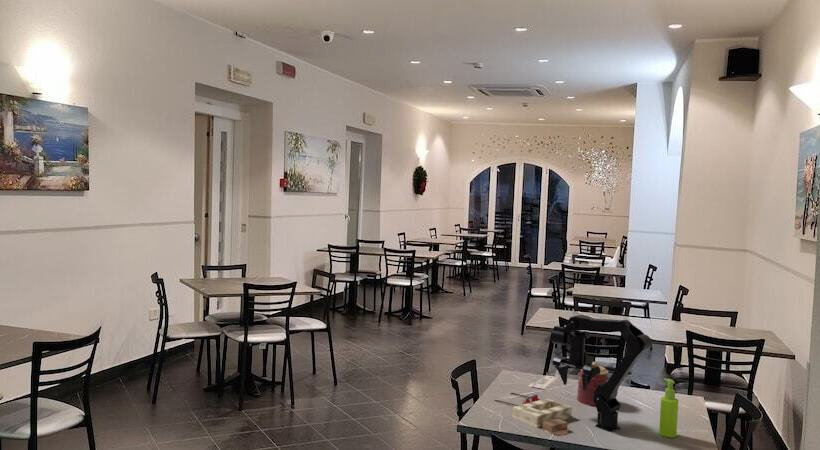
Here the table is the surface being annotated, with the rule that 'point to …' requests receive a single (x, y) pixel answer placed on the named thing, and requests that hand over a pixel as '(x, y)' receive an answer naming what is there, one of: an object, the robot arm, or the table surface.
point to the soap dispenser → (669, 412)
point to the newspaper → (544, 382)
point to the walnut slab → (554, 425)
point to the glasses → (533, 399)
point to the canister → (591, 386)
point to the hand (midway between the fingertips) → (574, 387)
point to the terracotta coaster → (559, 432)
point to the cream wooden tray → (541, 412)
